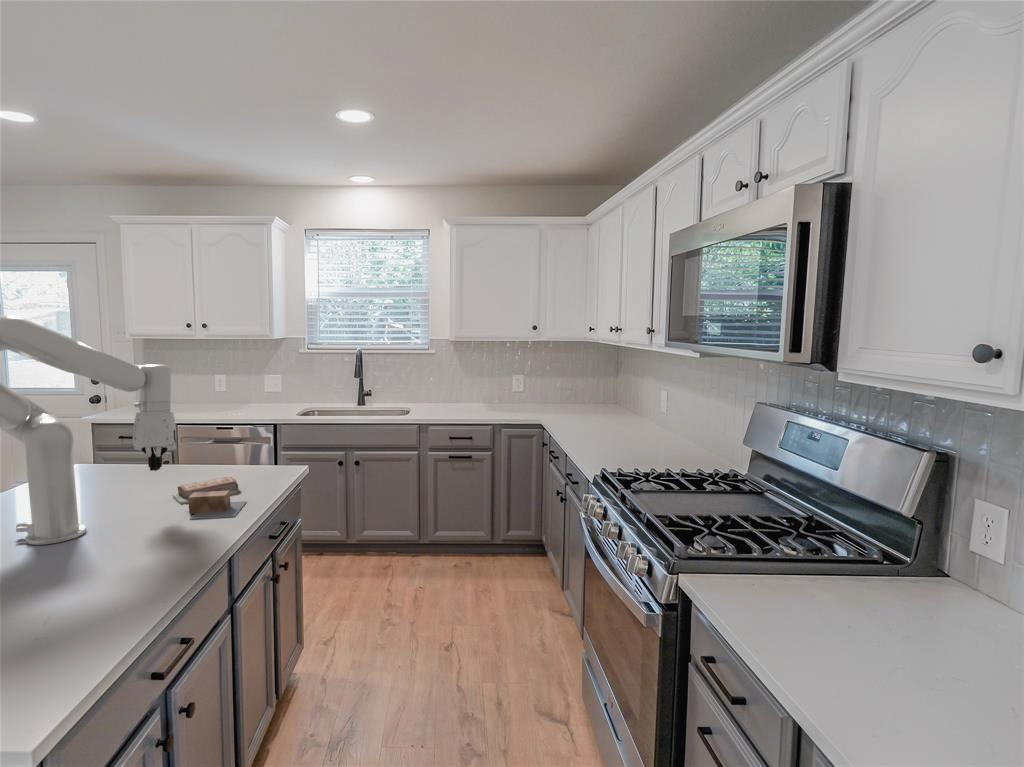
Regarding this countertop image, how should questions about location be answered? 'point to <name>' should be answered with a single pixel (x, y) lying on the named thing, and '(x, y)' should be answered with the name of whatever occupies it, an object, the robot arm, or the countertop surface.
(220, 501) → the walnut block
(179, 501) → the packaged product
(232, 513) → the rubber mat
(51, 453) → the robot arm
